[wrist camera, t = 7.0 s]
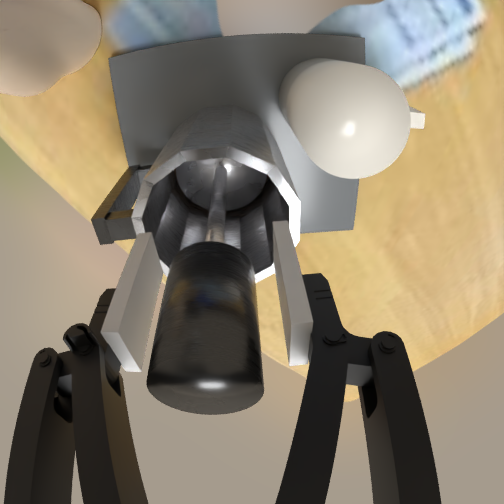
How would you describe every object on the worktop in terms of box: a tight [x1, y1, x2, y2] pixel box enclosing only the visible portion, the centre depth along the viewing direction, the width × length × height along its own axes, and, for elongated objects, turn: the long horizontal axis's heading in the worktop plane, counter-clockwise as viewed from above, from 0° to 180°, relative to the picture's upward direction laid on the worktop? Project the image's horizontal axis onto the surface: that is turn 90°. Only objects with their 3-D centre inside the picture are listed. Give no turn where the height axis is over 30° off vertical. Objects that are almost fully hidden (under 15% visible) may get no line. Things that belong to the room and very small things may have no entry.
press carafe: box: [91, 105, 300, 283], centre depth 23 cm, size 10×13×12 cm
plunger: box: [147, 157, 267, 415], centre depth 18 cm, size 7×7×19 cm
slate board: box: [108, 33, 365, 233], centre depth 27 cm, size 20×22×1 cm
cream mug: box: [279, 58, 425, 179], centre depth 21 cm, size 8×10×9 cm
